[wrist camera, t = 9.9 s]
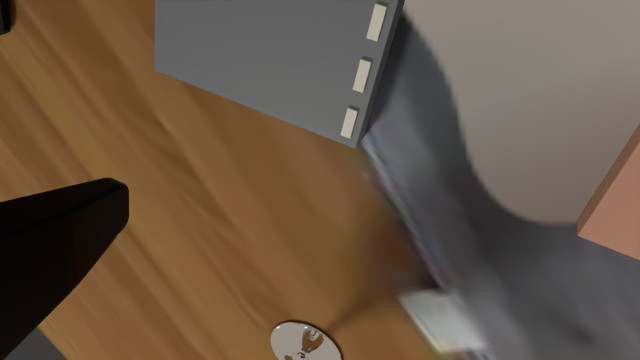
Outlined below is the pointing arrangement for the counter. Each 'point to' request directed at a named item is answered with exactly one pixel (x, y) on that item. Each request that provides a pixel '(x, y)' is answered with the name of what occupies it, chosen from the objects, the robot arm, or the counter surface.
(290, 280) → the counter surface
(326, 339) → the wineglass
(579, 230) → the stub
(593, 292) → the counter surface
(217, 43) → the panel
